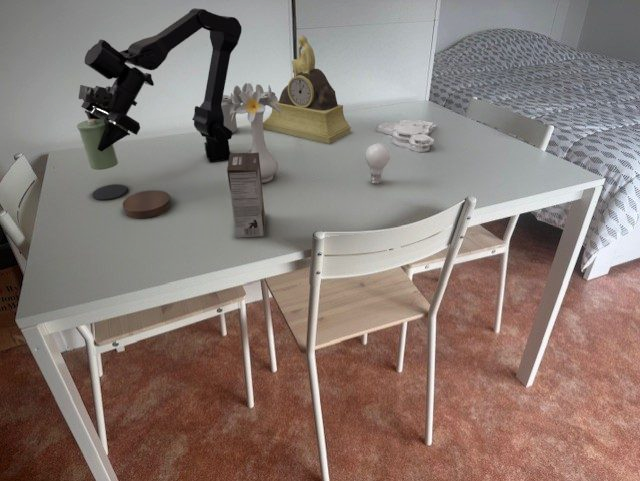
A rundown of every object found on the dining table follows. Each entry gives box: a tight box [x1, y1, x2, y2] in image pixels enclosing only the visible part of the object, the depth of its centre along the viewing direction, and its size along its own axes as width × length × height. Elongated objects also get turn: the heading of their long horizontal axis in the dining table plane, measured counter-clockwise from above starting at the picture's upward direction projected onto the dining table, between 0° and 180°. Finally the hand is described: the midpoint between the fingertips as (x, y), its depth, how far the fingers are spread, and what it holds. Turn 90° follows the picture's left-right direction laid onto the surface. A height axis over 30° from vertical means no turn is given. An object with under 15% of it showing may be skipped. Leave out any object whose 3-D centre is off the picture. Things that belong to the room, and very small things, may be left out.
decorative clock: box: [263, 34, 351, 145], centre depth 148 cm, size 28×13×30 cm, turn 55°
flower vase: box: [227, 82, 282, 184], centre depth 117 cm, size 13×18×25 cm
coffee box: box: [226, 152, 266, 239], centre depth 97 cm, size 9×6×16 cm
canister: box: [76, 119, 119, 171], centre depth 109 cm, size 7×7×11 cm
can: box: [221, 94, 238, 135], centre depth 153 cm, size 8×8×12 cm
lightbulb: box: [364, 142, 391, 185], centre depth 117 cm, size 6×6×11 cm
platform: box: [122, 189, 172, 219], centre depth 110 cm, size 11×11×2 cm
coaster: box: [92, 184, 128, 201], centre depth 117 cm, size 8×8×1 cm
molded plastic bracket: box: [375, 119, 437, 153], centre depth 149 cm, size 23×25×4 cm
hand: (93, 146), depth 108 cm, fingers closed on canister, 6 cm apart
